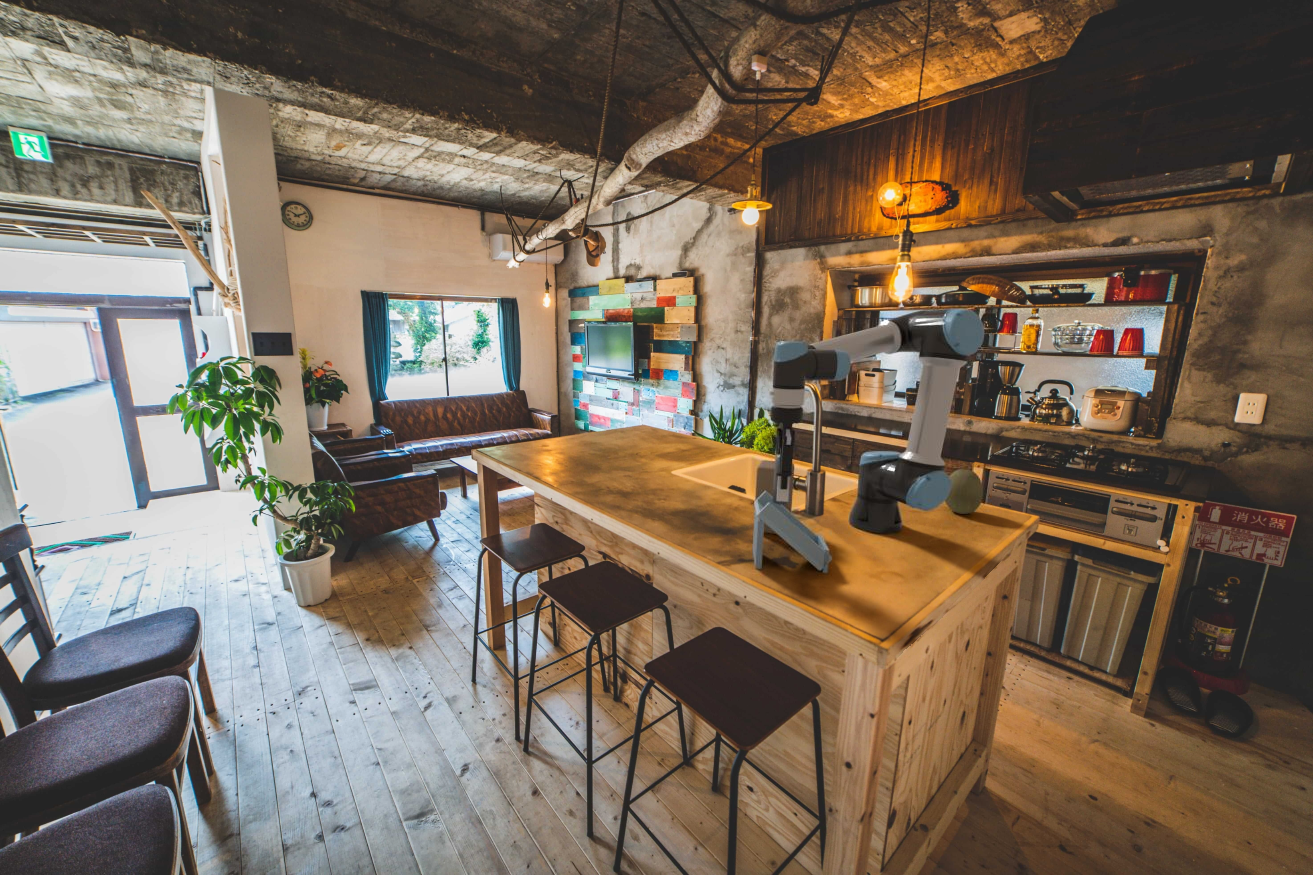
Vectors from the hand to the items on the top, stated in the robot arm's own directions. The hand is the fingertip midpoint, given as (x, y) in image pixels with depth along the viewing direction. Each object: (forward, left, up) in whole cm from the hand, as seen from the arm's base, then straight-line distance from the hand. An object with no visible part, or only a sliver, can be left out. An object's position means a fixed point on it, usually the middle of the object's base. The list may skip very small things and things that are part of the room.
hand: (781, 497), depth 129 cm
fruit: (-65, -47, -17) cm, 82 cm away
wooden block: (-1, -23, -17) cm, 29 cm away
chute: (-3, 0, -17) cm, 17 cm away
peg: (0, 0, -1) cm, 1 cm away
